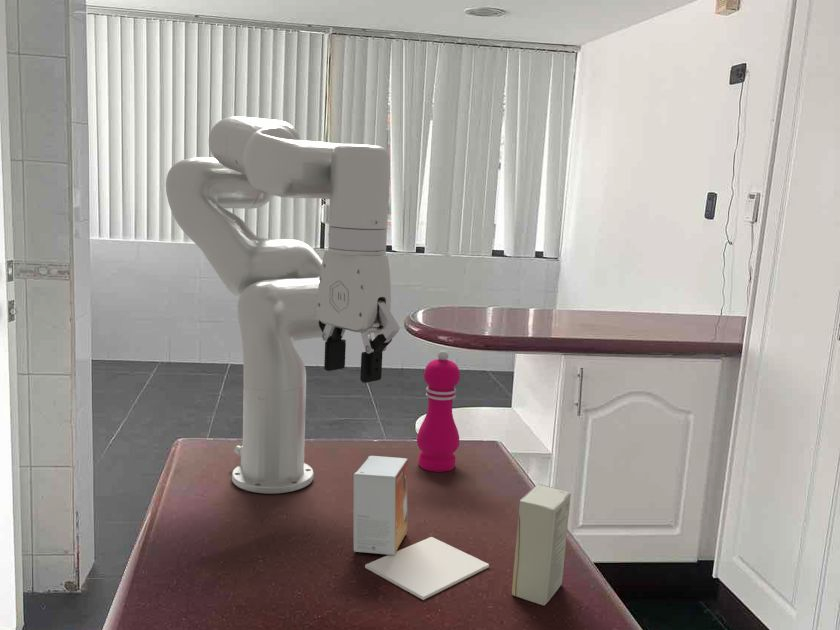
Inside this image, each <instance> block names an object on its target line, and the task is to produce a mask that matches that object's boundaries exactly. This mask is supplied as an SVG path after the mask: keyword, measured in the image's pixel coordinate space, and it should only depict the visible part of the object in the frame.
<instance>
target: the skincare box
mask: <svg viewBox="0 0 840 630" xmlns="http://www.w3.org/2000/svg"><path fill="white" fill-rule="evenodd" d="M571 495H572V492H571V491H567V490H564V489H560V488H556V487H553V486H552V487H551V486H549V485H545V484H541V483H537V484H536V485H535V486H534V487H533V488H531V489H530V490H529V491H528V492H527V493H526V494H525V495H524V496H522V498H521V499H520V500H519V505H518V506H519V507H518V508H519V509H518V518H517V527H516V528H517V529H516V530H517V531H516V541H515V550H514V551H515V552H514V562H513V563H514V564H513V573H512V574H513V575H512V585H511V587H512V588H511V596H514V597H517V598H520V599H522V600H525V601H529V602H531V603H534V604H538V605H541V606H543V607H544V606H545V605H546V604H547V603H549V601H550V600H551V598H553V596H554V595H555V594H556V592H557V591H558V590H559V588H560V587H561V585H562V583H563V576H564V563H565V555H566V545H567V543H566V542H567V535H568V527H569V526H568V525H569V515H570V506H571V497H572V496H571Z"/></svg>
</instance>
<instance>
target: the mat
mask: <svg viewBox="0 0 840 630" xmlns="http://www.w3.org/2000/svg"><path fill="white" fill-rule="evenodd" d="M364 568H365V569H367V571H371V572H372V573H374V574H375V575H378V576H379V577H381V578H382V579H385V580H386V581H388V582H390V583H392V584H394V585H395V586H397V587H399V588H400V589H402V590H404V591H406V592H409V594H412V595H414V596H415V597H417V598H419V599H420V600H422V601H425V600H426V599H428V598H431V597H433V596H434V595H437V594H439V593H440V592H442V591H444V590H446V589H448V588H451V587H452V586H454V585H456V584H458V583H460V582H462V581H464V580H466V579H469V578H470V577H473V576H474V575H476V574H478V573H480V572H482V571H484V570H486V569H488V568H490V563H488V562H485V561H483V560H481V559H479V558H478V557H476V556H473V555H471V554H469V553H466V552H464V551H462V550H460V549H458V548H456V547H453V546H452V545H450V544H448V543H446V542H444V541H442V540H439V539H437V538H435V537H433V536H429V537H427V538H426V539H423V540H421V541H418V542H416V543H413V544H411V545H408V546H406V547H404V548H401V549H398V550H397V551H396V553H395V555H387V554H386V555H385V556H382V557H379V558H378V559H376V560H373V561H370V562H369V563H366V564H365V565H364Z"/></svg>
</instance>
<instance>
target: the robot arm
mask: <svg viewBox="0 0 840 630" xmlns="http://www.w3.org/2000/svg"><path fill="white" fill-rule="evenodd" d="M208 147H209V151H210V152H211V155H212V156H213V157H212V156H211V157H210V156H208V157H207V156H200V157H199V156H197V157H190V158H185V159H182V160H180V161H177V162H176V163H174V164H173V166H171V167H170V169H169V171H168V172H167V175H166V181H165V191H166V197H167V202H168V205H169V209H170V212H171V214H172V215H173V218H174V220H175V222H176V224H177V225H178V226H179V227H180V229H181V230H182V232H183V233H184V234H185V235H186V236H187V237H188V238H189V239H190V240H191V241H192V242H193V243H194V244H195V245H196V246H197V247H198V248H199V250H201V252H202V253H203V255H204V256H205V258H206V259H207V261H208V262H209V264H210V266H211V267H212V269H213V270H214V271H215V273H216V275H218V277H219V279H220V280H221V281H222V283H223V285H225V287H226V288H227V289H228V291H229V292H231V294H233V296H236V297H237V298H238V300H237V301H238V302H237V318H238V324H239V331H240V336H241V337H240V338H241V343H242V346H241V347H242V360H243V364H242V367H243V369H242V370H243V372H242V373H243V376H242V377H243V378H242V379H243V380H242V382H243V383H242V384H243V391H242V392H243V393H242V394H243V397H242V400H243V401H242V402H243V404H242V407H243V408H242V409H243V410H242V443H241V445H236V446H235V447H234V450H233V451H234V453H235V454H236V455H239V456H240V464H238V466H235V468H234V469H233V470H232V471H231V472H232V473H231V481H232V483H233V484H234V485H235V486H236V487H237V488H239V489H240V490H244V491H246V492H251V493H257V494H269V495H271V494H273V495H274V494H285V493H290V492H296V491H298V490H301V489H304V488H305V487H307V486H309V485H310V484H311V483H312V482H313V481H314V469H313V468H312V466H310V465H309V464H307V463H305V442H306V441H305V439H306V438H305V437H306V407H307V406H306V401H307V399H306V398H307V371H306V369H307V368H306V366H305V363H304V360H303V359H302V357H301V356H300V354H299V353H298V351H297V350H296V348H295V346H294V342H298V341H303V340H313V339H322V341H324V363H323V364H324V366H323V368H324V370H325V371H327V372H332V371H336V370H342V369H344V368H345V367H346V349H347V348H346V347H347V344H346V343H347V342H346V339H344V338H343V336H345V335H344V334H345V332H346V331H350V332H354V333H360V335H361V340H362V342H363V347H364V350H365V351H362V352H361V356H360V382H361V383H364V384H367V383H371V382H377V381H380V380H382V373H383V372H382V370H383V353H384V352H385V351H386V350H387V346H388V345H389V344H390V343H391V342H392V341H393V339H394V338H395V337H396V335H397V334H398V332H399V331H400V325H399V323H398V322H397V320H396V318H395V317H394V315H393V314H392V312H391V307H392V306H391V305H392V303H391V302H392V295H391V294H392V293H391V292H392V285H391V274H390V273H391V271H390V262H389V256H388V254H387V238H388V236H387V235H388V215H389V213H388V212H389V198H390V197H389V196H390V195H389V193H390V173H391V171H390V170H391V169H390V168H391V157H390V153H389V151H388V150H387V149H386V148H385V147H382V146H380V145H375V144H374V145H373V144H363V143H362V144H360V143H339V142H338V143H337V142H328V141H327V142H326V141H315V140H314V141H313V140H305V139H304V140H302V139H301V137H300V135H299V132H298V130H297V129H296V128H295V127H294V126H293V125H292V124H290V123H289V122H287V121H284V120H281V119H271V118H262V117H252V116H251V117H250V116H241V115H240V116H239V115H236V116H235V115H233V116H229V117H225V118H222V119H221V120H219V121H218V122H217V123H215V124H214V126H212V128H211V130H210V132H209V135H208ZM274 196H275V197H280V198H288V199H322V200H329V211H328V213H329V214H328V215H329V216H328V217H329V218H328V233H327V235H328V245H327V246H328V248H327V249H324V253H323V255H322V256H323V257H320V255H319V254H318V252H316V251H315V249H314V248H313V247H312V246H311V245H309V244H308V243H306V242H305V241H303V240H299V239H294V238H293V239H292V238H264V237H259V236H257V235H256V234H254V232H253V231H252V230H251V229H250V227H249V226H248V224H247V223H246V222H245V221H244V220H243V219H242V218H240V217H239V216H238V215H237V214H235V213H233V212H231V211H229V210H227V209H249V210H250V209H258V208H260V207H263V206H265V205H266V204H267V203H268V202H270V201H271V200H272V199H273V197H274ZM372 334H373V335H374V339H372Z"/></svg>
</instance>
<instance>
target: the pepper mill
mask: <svg viewBox="0 0 840 630" xmlns="http://www.w3.org/2000/svg"><path fill="white" fill-rule="evenodd" d="M437 353H438V354H437V358H436V359H433V360H431V361H429V362H428V364H427V365H426V366H425V368H424V371H423V380H424V381H425V383H426V384H427V385H428V386H427V387H426V388H425V391H426V393H425V396H426V397H427V400H428V402H427V403H428V405H427V411H426V415H425V416H424V418H423V421H422V423H421V425H420V427H419V429H418V431H417V435H416V436H417V437H416V444H417V447H418V449H420V451H421V452H419V454H418V462H417V463H418V466H419V467H420V468H421V469H423V470H425V471H427V472H428V471H430V472H435V473H441V472H442V473H444V472H449V471H452V470H454V469H455V467H456V455H455V454H454V453H456V451H457V450H458V448H459V446H460V435H459V430H458V428H457V425H456V422H455V419H454V416H453V402H454V399H455V398H456V396H457V395H456V393H457V389H456V388H455V387H456V386H457V385H458V383H459V381H460V380H461V379H460V377H461V374H460V368H459V366H458V365H457V364H456V363H455V362H453V361H452V360H450V359H448V358H449V352H448V351H446V350H444V349H443V350H440V351H439V352H437Z"/></svg>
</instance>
